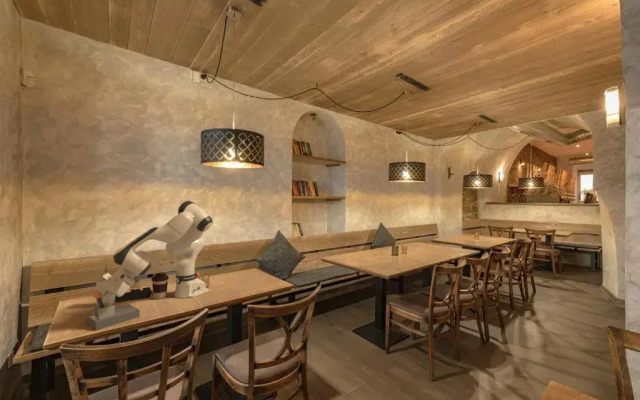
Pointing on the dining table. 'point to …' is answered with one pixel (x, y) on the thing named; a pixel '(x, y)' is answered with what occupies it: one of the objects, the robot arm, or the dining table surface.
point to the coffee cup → (160, 285)
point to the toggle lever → (98, 298)
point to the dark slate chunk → (134, 295)
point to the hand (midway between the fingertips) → (102, 300)
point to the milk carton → (101, 290)
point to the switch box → (111, 315)
